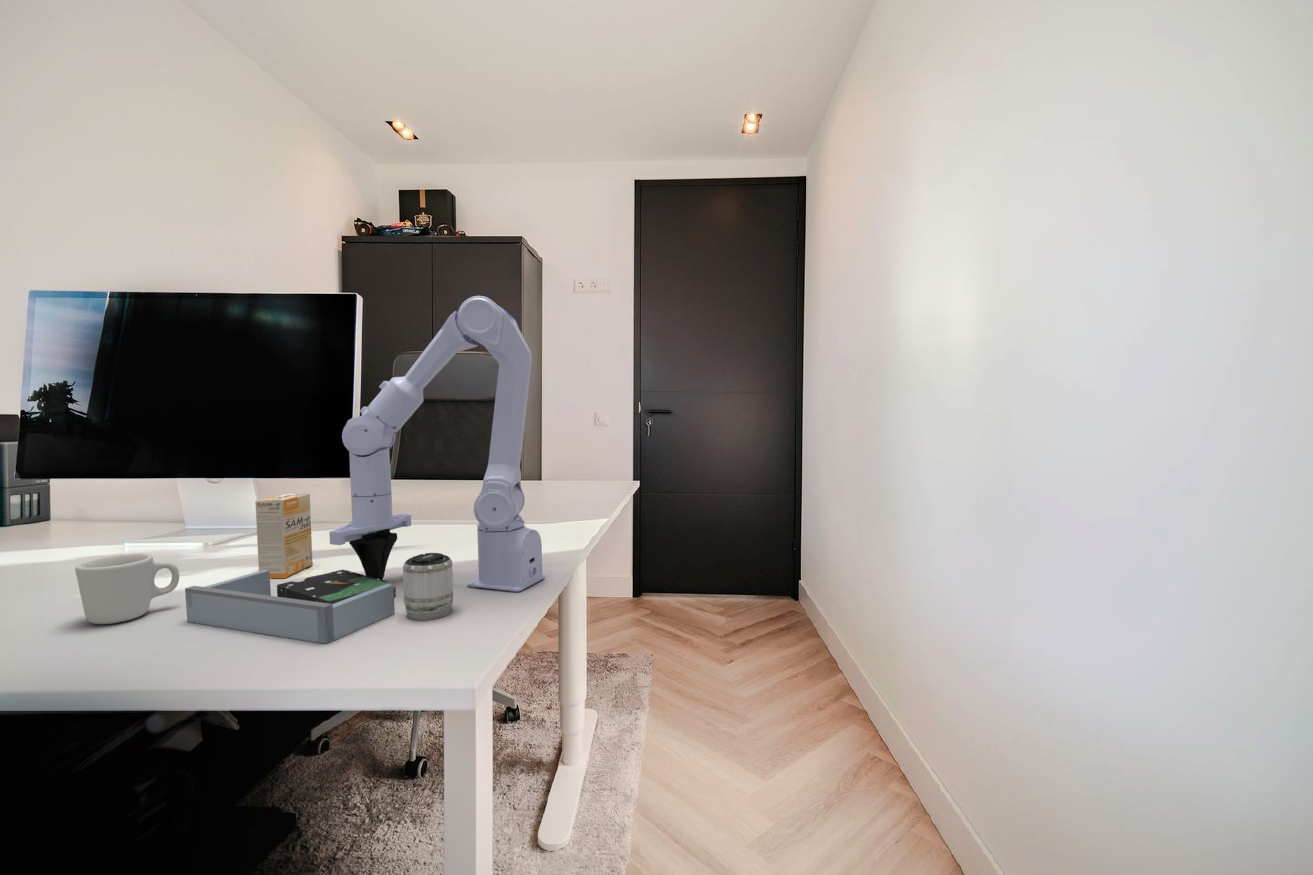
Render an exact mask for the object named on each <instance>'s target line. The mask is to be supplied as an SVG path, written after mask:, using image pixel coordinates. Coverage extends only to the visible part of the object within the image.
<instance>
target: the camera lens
mask: <svg viewBox="0 0 1313 875" xmlns="http://www.w3.org/2000/svg"><path fill="white" fill-rule="evenodd" d="M402 572H403V573H402V574H403V575H402V576H403V577H402V578H403V595H404V597H403V599H404V601H403V603H404V607H405V611H406V613H407V617H408V618H409V619H411V620H416V621H428V620H435V619H439V618H443V617H445V616H447V615H449V614H450V613H451V612H452V606H453V604H454V603H453V602H454V601H453V600H454V584H453V583H454V581H453V580H454V578H453V575H454V574H453V560H452V559H451V558H450V556H449V555H446V554H443V553H440V552H425V553H420V554H418V555H415V556H412V557H410V558H408V559H406V561H404V563H403V565H402Z"/></svg>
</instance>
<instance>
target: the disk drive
mask: <svg viewBox="0 0 1313 875" xmlns="http://www.w3.org/2000/svg"><path fill="white" fill-rule="evenodd" d="M385 584H392V585H393V583H392V582H389V581H388V580H384V579H383V580H381V579H377V578H374V577H370V576H366V574H362V573H357V572H354V571H352V570H347V569H338V570H336V571H331V572H326V573H323V574H316V575H312V576H309V577H306V578H304V580H302V581H301V580H300V581H292V580H291V581H286V582H283V583H278V584H277V585H276V593H277V596H276V597H283V598H291V599H298V600H306V601H313V602H321V603H329V604H335V603H337V602H340V601H343V600H345V599H348V598H351V597H353V596H356V595H358V594H361V593H364V592H366V591H369V590H372V589H374V588H377V587H380V586H382V585H385ZM396 593H397V592H396V587H395V586H394V599H395V598H396V597H397V596H396V595H397V594H396Z"/></svg>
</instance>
